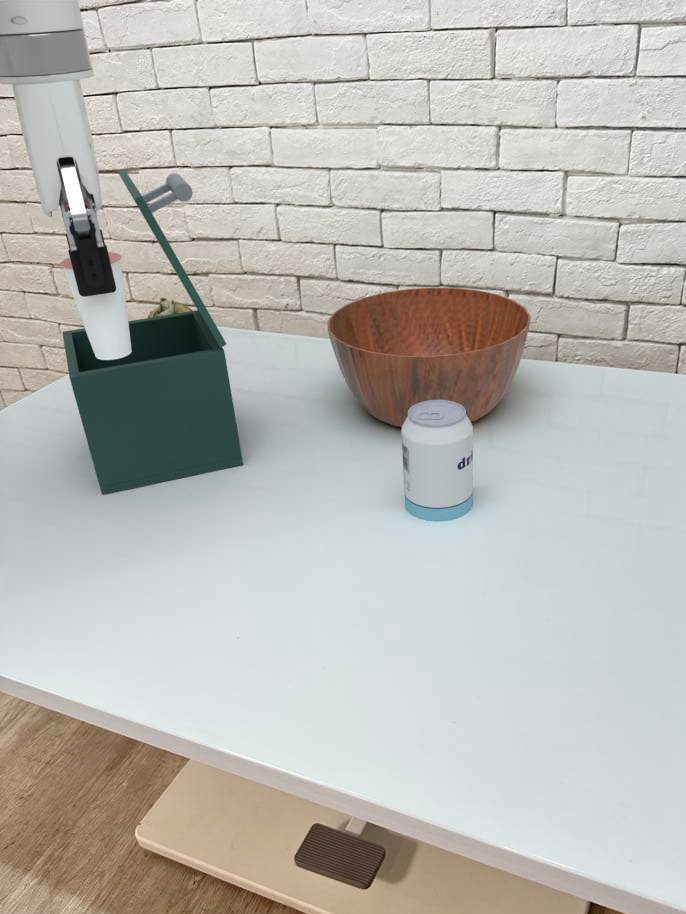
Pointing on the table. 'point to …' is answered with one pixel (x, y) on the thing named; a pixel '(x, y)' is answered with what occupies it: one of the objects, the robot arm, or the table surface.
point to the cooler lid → (183, 194)
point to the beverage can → (437, 461)
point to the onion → (168, 308)
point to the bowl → (429, 349)
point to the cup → (104, 314)
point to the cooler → (155, 403)
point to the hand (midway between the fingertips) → (95, 282)
